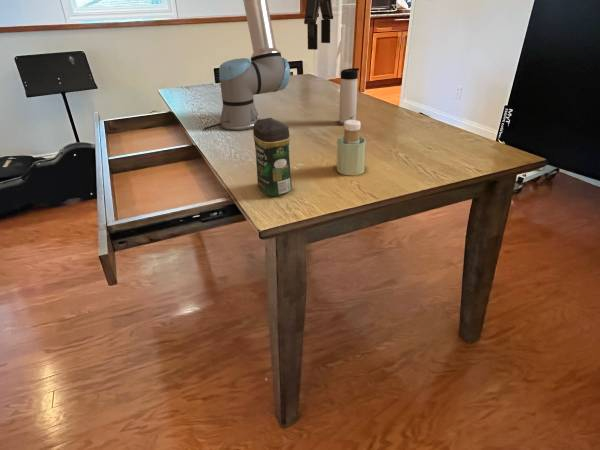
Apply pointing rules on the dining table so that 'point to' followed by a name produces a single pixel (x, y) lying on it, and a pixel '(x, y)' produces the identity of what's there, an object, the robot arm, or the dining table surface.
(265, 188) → the coffee jar
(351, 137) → the sprinkles bottle
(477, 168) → the dining table surface
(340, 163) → the cup
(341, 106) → the travel mug
